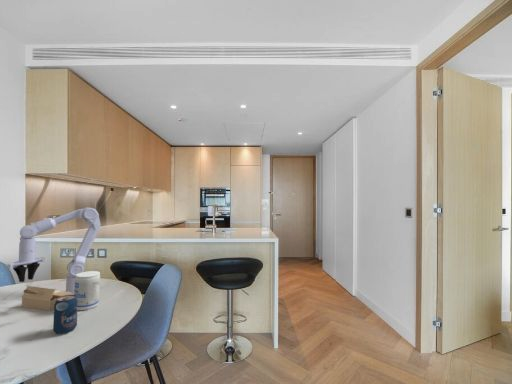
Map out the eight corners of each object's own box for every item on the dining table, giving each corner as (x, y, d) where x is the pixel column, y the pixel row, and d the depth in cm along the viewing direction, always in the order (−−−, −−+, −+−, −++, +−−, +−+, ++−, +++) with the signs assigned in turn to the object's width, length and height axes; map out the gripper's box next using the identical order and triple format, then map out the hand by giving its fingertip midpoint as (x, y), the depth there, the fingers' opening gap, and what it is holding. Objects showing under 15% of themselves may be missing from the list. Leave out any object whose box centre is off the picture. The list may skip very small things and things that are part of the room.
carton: (45, 298, 123) (45, 288, 123) (71, 301, 119) (72, 292, 120) (21, 306, 114) (22, 296, 114) (49, 310, 110) (50, 300, 110)
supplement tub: (68, 311, 109) (69, 276, 110) (82, 302, 119) (83, 270, 119) (91, 311, 110) (92, 276, 110) (103, 302, 119) (104, 270, 120)
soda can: (64, 336, 89) (65, 301, 90) (47, 334, 90) (49, 300, 91) (81, 327, 96) (82, 294, 96) (65, 325, 97) (66, 293, 98)
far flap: (49, 301, 110) (40, 299, 106) (22, 297, 114) (11, 295, 110) (55, 289, 112) (46, 287, 108) (28, 286, 116) (18, 284, 112)
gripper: (37, 248, 128) (36, 275, 127) (2, 253, 113) (1, 284, 113) (48, 248, 126) (47, 276, 125) (14, 254, 112) (12, 286, 111)
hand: (26, 280), depth 119 cm, fingers open, 3 cm apart
